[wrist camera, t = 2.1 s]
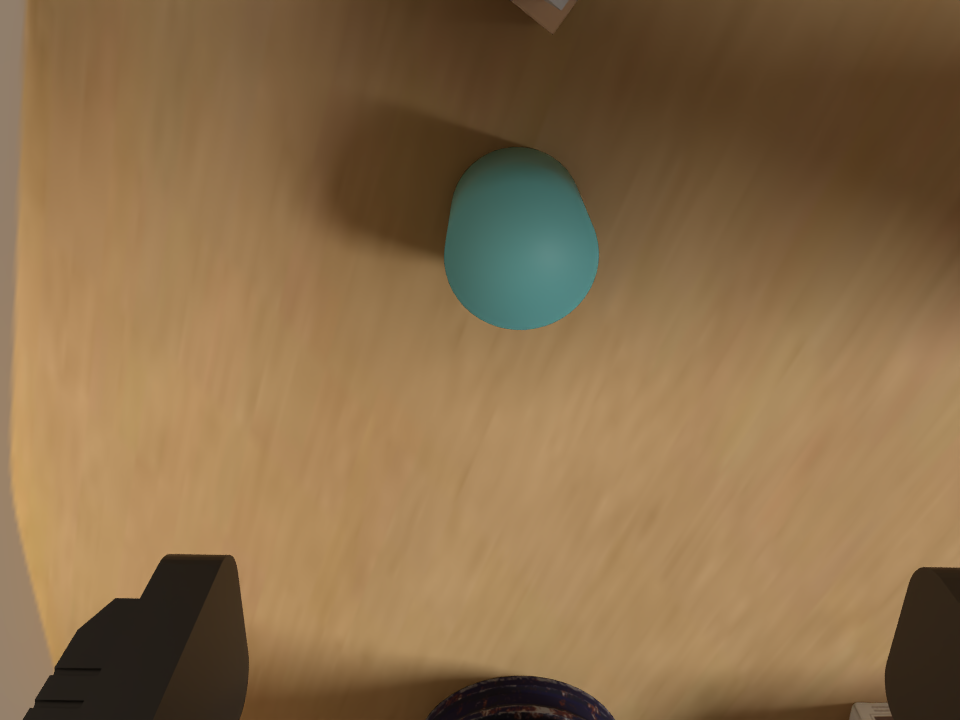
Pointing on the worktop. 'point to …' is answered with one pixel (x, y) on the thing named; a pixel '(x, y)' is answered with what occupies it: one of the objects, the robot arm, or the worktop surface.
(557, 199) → the teal cylinder
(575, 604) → the worktop surface
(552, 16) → the tower base
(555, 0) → the grey cube
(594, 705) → the dark blue barrel
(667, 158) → the worktop surface
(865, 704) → the supplement box
